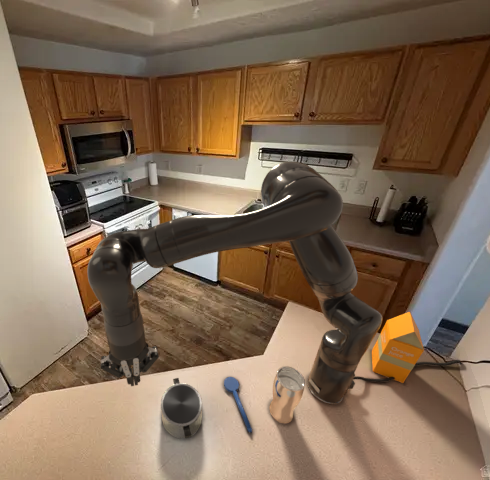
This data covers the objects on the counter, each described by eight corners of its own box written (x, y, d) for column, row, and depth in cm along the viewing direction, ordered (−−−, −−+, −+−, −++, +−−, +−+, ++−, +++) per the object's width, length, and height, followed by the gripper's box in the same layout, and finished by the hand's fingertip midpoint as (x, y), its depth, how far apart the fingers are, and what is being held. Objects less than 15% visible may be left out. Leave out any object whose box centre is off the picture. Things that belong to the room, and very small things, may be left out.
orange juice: (372, 371, 81) (396, 325, 71) (371, 350, 87) (393, 306, 78) (403, 383, 77) (433, 337, 67) (400, 361, 84) (427, 315, 74)
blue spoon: (235, 377, 80) (235, 374, 80) (258, 431, 67) (259, 428, 67) (221, 380, 80) (221, 377, 79) (242, 435, 67) (243, 433, 66)
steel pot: (194, 385, 79) (194, 373, 76) (209, 441, 66) (210, 428, 63) (158, 393, 77) (156, 381, 74) (167, 452, 64) (165, 440, 61)
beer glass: (296, 428, 68) (309, 394, 60) (269, 422, 69) (277, 388, 62) (291, 401, 74) (302, 367, 66) (266, 396, 75) (274, 363, 68)
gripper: (89, 351, 48) (104, 404, 56) (160, 338, 50) (164, 391, 58) (92, 321, 54) (105, 373, 63) (155, 311, 56) (160, 362, 65)
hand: (134, 382), depth 60 cm, fingers closed
